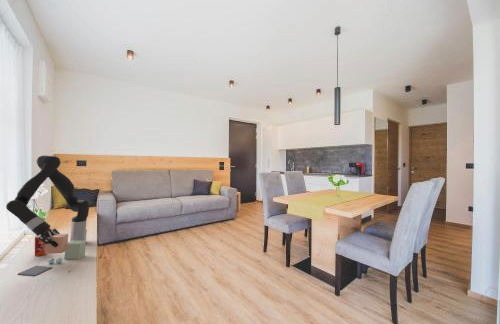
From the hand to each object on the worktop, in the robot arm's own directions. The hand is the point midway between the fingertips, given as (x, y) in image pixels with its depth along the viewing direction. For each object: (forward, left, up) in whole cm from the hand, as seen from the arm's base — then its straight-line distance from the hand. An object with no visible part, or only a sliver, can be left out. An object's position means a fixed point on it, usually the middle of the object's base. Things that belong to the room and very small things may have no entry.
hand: (60, 244), depth 138 cm
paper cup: (-9, -22, -12) cm, 26 cm away
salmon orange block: (0, -2, -4) cm, 5 cm away
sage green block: (-9, +2, -11) cm, 15 cm away
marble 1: (+1, -3, -11) cm, 12 cm away
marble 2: (0, 0, -11) cm, 12 cm away
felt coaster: (+12, -3, -11) cm, 17 cm away
